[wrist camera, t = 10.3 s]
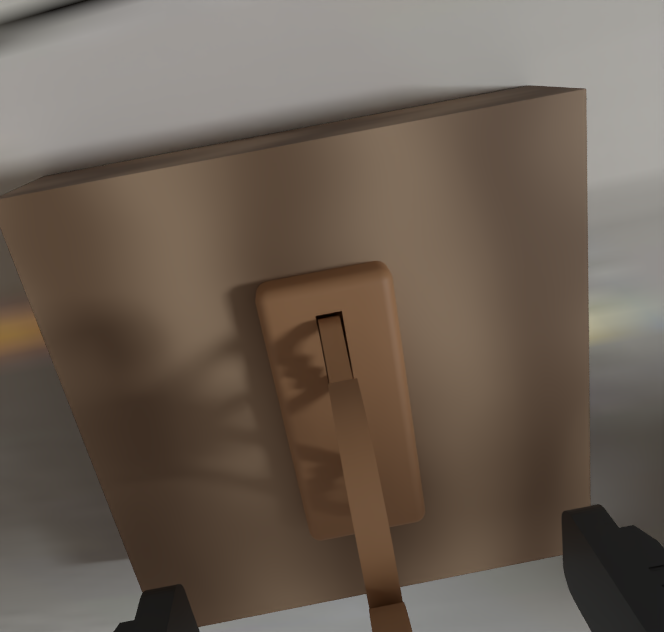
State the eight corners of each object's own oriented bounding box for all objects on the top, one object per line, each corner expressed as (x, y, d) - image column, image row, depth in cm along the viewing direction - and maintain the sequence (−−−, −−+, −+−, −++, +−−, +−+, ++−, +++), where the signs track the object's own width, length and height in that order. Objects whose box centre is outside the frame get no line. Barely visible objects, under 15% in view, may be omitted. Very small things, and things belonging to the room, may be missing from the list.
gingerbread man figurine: (253, 283, 17) (212, 656, 6) (387, 258, 17) (577, 584, 6) (310, 525, 21) (347, 1045, 10) (422, 503, 21) (586, 996, 10)
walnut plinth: (528, 85, 20) (586, 88, 16) (546, 481, 26) (591, 549, 22) (43, 176, 20) (-11, 200, 16) (175, 553, 26) (159, 634, 22)
